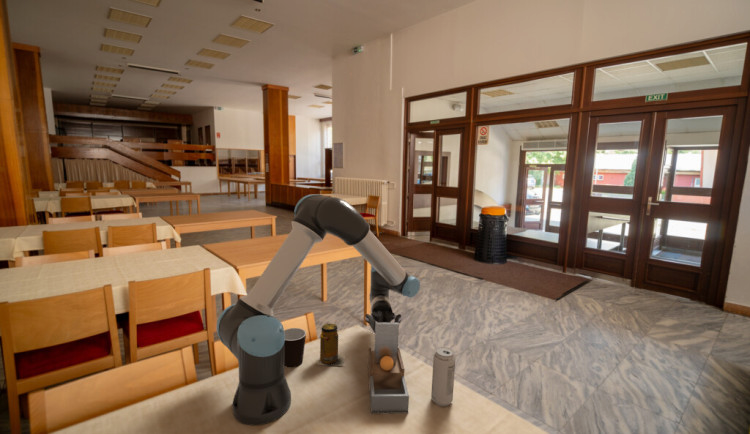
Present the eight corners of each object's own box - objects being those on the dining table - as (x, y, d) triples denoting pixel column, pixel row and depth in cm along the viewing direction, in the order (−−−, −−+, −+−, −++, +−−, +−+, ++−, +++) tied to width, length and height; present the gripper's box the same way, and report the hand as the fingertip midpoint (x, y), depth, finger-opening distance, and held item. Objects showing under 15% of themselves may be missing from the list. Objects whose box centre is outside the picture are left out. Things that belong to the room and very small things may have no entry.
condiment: (321, 353, 121) (321, 321, 119) (345, 355, 121) (346, 322, 119) (316, 365, 114) (317, 331, 112) (342, 366, 114) (343, 332, 112)
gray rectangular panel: (374, 363, 105) (375, 324, 103) (374, 361, 106) (375, 322, 104) (397, 363, 105) (399, 324, 104) (396, 361, 107) (398, 322, 105)
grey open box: (371, 413, 92) (371, 396, 92) (369, 391, 101) (370, 376, 101) (408, 412, 93) (409, 395, 92) (403, 391, 102) (404, 375, 101)
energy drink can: (436, 391, 103) (439, 343, 101) (455, 399, 99) (459, 350, 97) (427, 401, 98) (430, 352, 96) (447, 410, 94) (450, 359, 92)
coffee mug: (299, 371, 110) (299, 342, 109) (274, 367, 112) (274, 338, 110) (313, 352, 122) (313, 325, 120) (290, 349, 123) (290, 322, 122)
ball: (378, 365, 104) (379, 370, 100) (381, 352, 104) (382, 357, 100) (390, 369, 104) (392, 374, 100) (394, 356, 104) (396, 360, 100)
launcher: (369, 391, 101) (370, 369, 100) (367, 368, 113) (368, 347, 112) (403, 391, 102) (404, 368, 101) (398, 368, 114) (399, 347, 113)
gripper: (398, 318, 130) (408, 352, 107) (363, 318, 129) (366, 352, 106) (399, 299, 129) (409, 329, 106) (364, 299, 128) (367, 329, 105)
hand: (388, 340), depth 106 cm, fingers closed
